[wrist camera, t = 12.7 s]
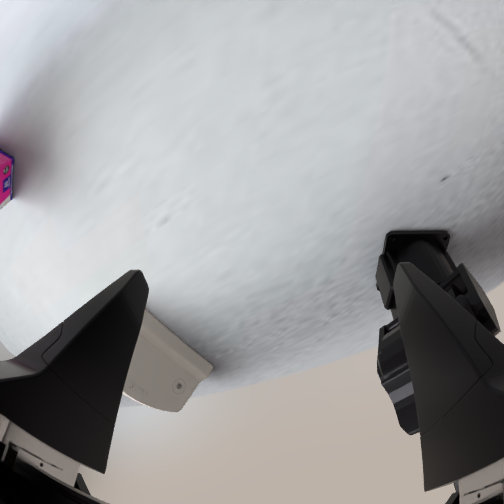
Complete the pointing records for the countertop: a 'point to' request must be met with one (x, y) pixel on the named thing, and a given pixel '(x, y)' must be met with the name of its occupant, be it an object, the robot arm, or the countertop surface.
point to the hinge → (163, 368)
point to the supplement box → (5, 178)
